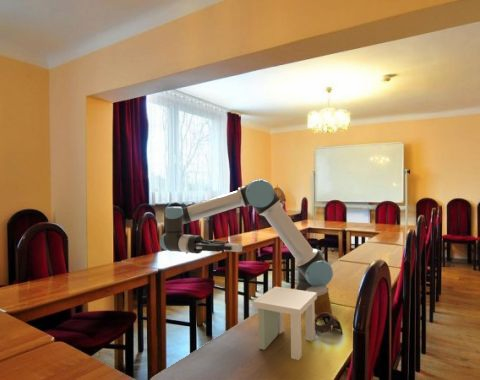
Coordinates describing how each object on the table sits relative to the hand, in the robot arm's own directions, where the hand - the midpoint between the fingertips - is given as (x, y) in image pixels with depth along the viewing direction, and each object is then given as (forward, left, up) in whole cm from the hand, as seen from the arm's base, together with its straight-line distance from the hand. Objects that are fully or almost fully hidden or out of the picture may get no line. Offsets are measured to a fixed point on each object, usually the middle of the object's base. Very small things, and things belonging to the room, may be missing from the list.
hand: (240, 248), depth 126 cm
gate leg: (+7, +15, -30) cm, 34 cm away
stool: (+6, +21, -30) cm, 37 cm away
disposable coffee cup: (-22, +26, -30) cm, 46 cm away
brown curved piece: (-10, +31, -30) cm, 44 cm away
